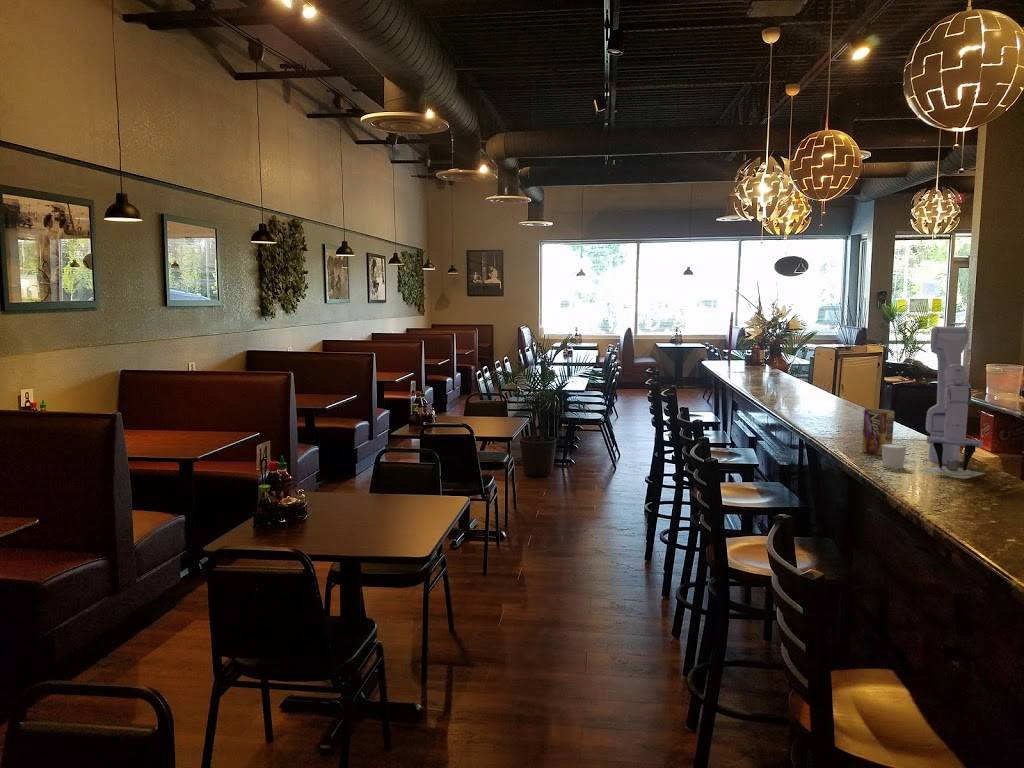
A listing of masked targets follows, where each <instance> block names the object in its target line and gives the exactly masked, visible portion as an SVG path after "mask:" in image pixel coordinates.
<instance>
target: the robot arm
mask: <svg viewBox="0 0 1024 768" xmlns="http://www.w3.org/2000/svg"><path fill="white" fill-rule="evenodd" d="M969 332H970V331H969V328H967V326H937V325H934V326H933V327H932V328H931V333H930V349H931V353H933V354H935V355H936V358H937V359H936V360H937V383H936V384H937V385H936V386H937V388H936V404H935V405H933V406H931V407H929V408H928V410H927V411H926V417H925V431H926V432H927V433H929V434H930V436H929V435H928V436H926V444H929V448H928V449H929V450H928V457H926V458H923V459H922V460H923V461H926V462H932V463H938V466H939V468H942V466H943V464H944V465H947V459H954V460H958V461H959V462H960V463H961V462H962V463H963V464H962V468H963V470H966V469H967V467H968V464H969V462H970V461H971V458H972V456H973V455H974V453H975V452H976V450H977V449H976V448H980V449H981V448H983V446H984V441H983V440H980V439H973V438H972V439H971V438H966V437H967V424H968V410H969V405H971V402H972V395H973V391H972V387H971V385H970V382H968V376H967V368H966V367H965V366H963V365H962V353H963V352H964V350H965V349H966V347H967V345H968V343H969V337H970V336H969ZM961 447H964V448H963V449H964V450H963V459H960V452H961ZM959 462H958V463H959Z"/></svg>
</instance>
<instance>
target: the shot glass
mask: <svg viewBox="0 0 1024 768" xmlns="http://www.w3.org/2000/svg"><path fill="white" fill-rule="evenodd" d="M906 452H907V446H905V445H902V444H897V443H896V444H894V443H892V444H883V445H882V455H881V456H882V457H881V458H882V459H881V460H882V461H881V463H882V467H884V468H888V469H895V470H897V469H903V468H904V464H905V463H904V462H905V457H906V456H905V455H906Z"/></svg>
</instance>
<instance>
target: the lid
mask: <svg viewBox="0 0 1024 768" xmlns="http://www.w3.org/2000/svg"><path fill="white" fill-rule="evenodd" d="M936 466H937V467H936ZM936 466H933V467H934V468H933V470H934V471H935V472H938V473H942V474H947V475H957V476H967V475H971V471H972V470H970V469H967V468H966V470H963V467H959V461H958V460H954V459H947V464H946V465H942V468H939V465H936Z"/></svg>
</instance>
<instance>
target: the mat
mask: <svg viewBox="0 0 1024 768" xmlns="http://www.w3.org/2000/svg"><path fill="white" fill-rule="evenodd" d="M937 466H938V465H936V466H931V467H928V468H923V469H919V471H920V472H924V473H929V474H930V473H931V474H935V475H941V476H946V477H952V478H955V479H956V478H958V479H961V480H966V479H969V478H973V477H978V476H981V475H985V474H986V473H985V472H980V471H975V470H970V471H971V475H967V476H957V475H947V474H942V473H938V472H935V471H934V470H933V468H934V467H937Z"/></svg>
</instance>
